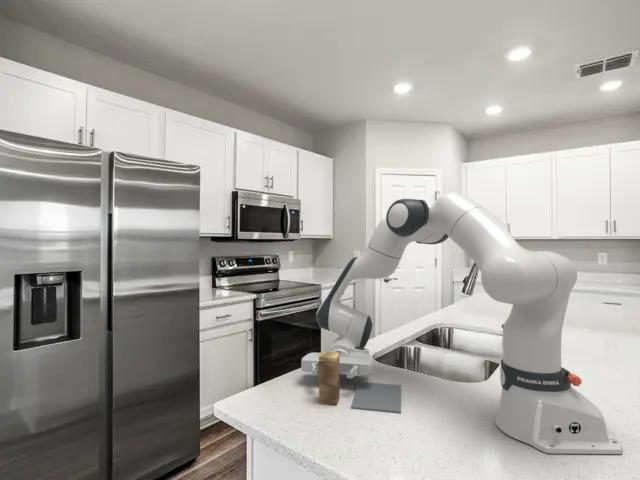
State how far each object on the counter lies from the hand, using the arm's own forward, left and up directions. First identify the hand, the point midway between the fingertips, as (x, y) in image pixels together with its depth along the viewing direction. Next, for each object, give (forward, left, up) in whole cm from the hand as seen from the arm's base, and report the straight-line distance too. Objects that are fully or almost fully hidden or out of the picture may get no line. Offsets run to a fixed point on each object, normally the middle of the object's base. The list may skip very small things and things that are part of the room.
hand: (331, 374), depth 96 cm
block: (0, +3, -6) cm, 7 cm away
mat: (-12, -2, -6) cm, 13 cm away
